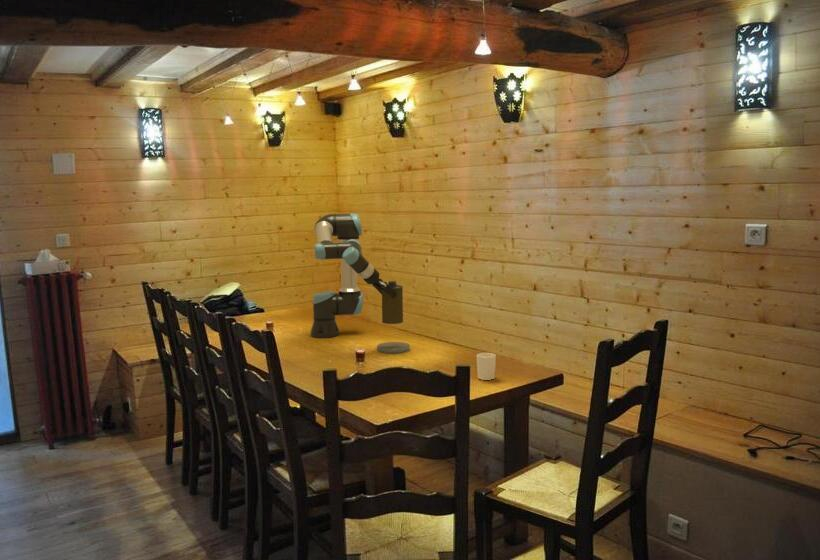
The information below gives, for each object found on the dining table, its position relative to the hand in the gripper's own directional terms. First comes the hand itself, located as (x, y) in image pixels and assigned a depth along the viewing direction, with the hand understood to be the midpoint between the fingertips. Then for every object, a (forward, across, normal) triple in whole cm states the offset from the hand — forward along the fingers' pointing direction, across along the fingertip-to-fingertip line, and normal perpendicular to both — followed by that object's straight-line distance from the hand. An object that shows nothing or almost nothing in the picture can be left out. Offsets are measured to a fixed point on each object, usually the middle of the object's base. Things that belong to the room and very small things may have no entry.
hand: (399, 304), depth 328 cm
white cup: (+18, +64, -13) cm, 68 cm away
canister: (+3, 0, -9) cm, 9 cm away
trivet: (+13, 0, -18) cm, 22 cm away
